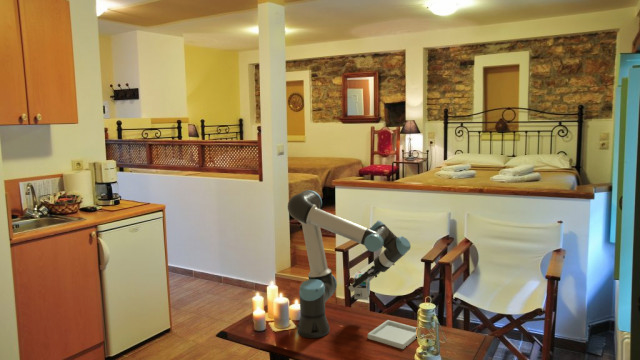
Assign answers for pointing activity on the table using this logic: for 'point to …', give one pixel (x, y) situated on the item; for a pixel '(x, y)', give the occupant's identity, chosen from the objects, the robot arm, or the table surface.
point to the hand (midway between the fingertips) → (357, 285)
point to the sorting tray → (393, 334)
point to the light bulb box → (362, 287)
